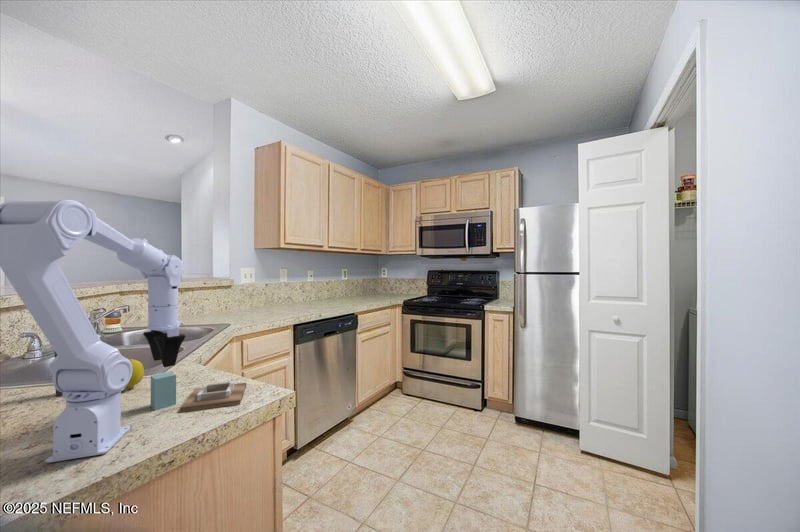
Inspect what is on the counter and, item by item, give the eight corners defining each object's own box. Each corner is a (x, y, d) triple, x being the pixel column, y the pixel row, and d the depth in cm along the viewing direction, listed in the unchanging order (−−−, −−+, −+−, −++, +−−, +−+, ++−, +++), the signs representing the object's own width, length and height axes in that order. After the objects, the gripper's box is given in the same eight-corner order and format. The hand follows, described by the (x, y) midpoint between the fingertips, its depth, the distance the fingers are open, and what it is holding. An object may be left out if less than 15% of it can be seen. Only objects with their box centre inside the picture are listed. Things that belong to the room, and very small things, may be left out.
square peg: (176, 404, 74) (176, 374, 74) (155, 410, 71) (155, 379, 71) (171, 399, 77) (171, 371, 77) (150, 405, 74) (150, 375, 74)
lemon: (149, 385, 87) (149, 356, 87) (130, 393, 81) (130, 362, 81) (130, 384, 87) (130, 355, 87) (110, 392, 82) (110, 361, 82)
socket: (240, 404, 74) (240, 393, 74) (180, 412, 70) (180, 401, 70) (246, 386, 86) (246, 377, 86) (195, 392, 82) (195, 382, 82)
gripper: (193, 306, 73) (194, 364, 73) (173, 301, 82) (174, 353, 82) (156, 309, 68) (157, 372, 68) (139, 304, 77) (139, 359, 77)
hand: (164, 362), depth 75 cm, fingers open, 7 cm apart
